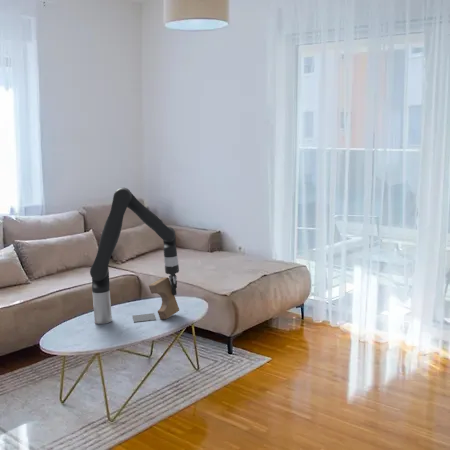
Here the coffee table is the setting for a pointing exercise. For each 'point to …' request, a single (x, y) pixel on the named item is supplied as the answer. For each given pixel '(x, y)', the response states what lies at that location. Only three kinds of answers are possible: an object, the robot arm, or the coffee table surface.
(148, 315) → the mat
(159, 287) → the decorative block
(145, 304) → the coffee table surface
